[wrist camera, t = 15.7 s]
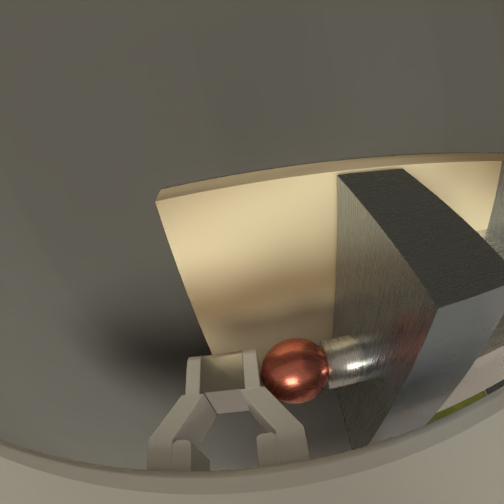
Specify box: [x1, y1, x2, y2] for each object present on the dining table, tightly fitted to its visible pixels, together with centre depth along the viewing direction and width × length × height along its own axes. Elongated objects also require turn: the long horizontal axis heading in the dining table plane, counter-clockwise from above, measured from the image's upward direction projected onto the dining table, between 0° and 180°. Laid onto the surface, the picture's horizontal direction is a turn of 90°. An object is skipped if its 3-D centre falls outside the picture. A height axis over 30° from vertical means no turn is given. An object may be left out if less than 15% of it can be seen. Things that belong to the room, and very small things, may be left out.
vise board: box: [155, 153, 504, 366], centre depth 13 cm, size 11×18×1 cm, turn 98°
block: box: [436, 229, 504, 413], centre depth 10 cm, size 4×6×6 cm, turn 98°
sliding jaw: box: [261, 168, 504, 450], centre depth 10 cm, size 11×6×6 cm, turn 8°
